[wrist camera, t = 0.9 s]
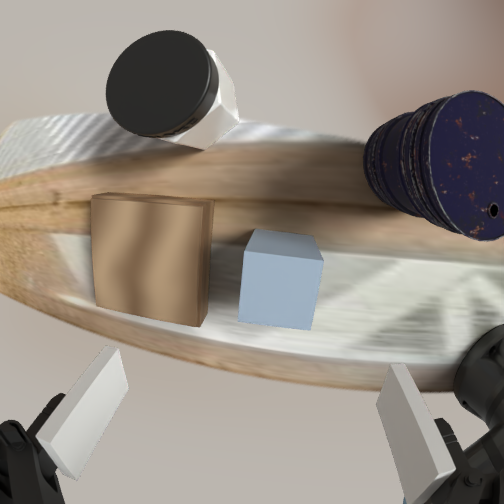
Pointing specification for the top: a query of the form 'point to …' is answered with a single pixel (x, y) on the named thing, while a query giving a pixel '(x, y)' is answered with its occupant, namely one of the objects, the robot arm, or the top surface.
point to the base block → (152, 255)
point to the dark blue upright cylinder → (444, 164)
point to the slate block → (280, 280)
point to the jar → (172, 90)
